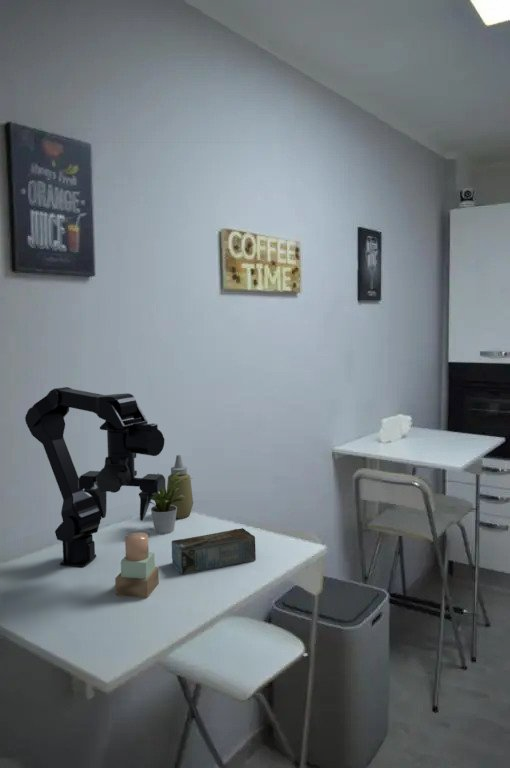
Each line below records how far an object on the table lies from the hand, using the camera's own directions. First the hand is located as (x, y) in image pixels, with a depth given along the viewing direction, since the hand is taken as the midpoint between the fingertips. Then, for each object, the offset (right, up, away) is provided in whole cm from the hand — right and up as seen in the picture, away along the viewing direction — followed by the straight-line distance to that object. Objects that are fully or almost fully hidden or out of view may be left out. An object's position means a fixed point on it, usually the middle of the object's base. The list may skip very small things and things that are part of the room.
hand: (122, 518), depth 139 cm
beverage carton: (+20, -13, +8) cm, 25 cm away
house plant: (+6, -10, +31) cm, 33 cm away
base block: (+4, -14, -6) cm, 16 cm away
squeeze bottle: (+8, -9, +43) cm, 44 cm away
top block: (+5, -10, -7) cm, 13 cm away
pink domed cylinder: (+5, -7, -7) cm, 11 cm away
